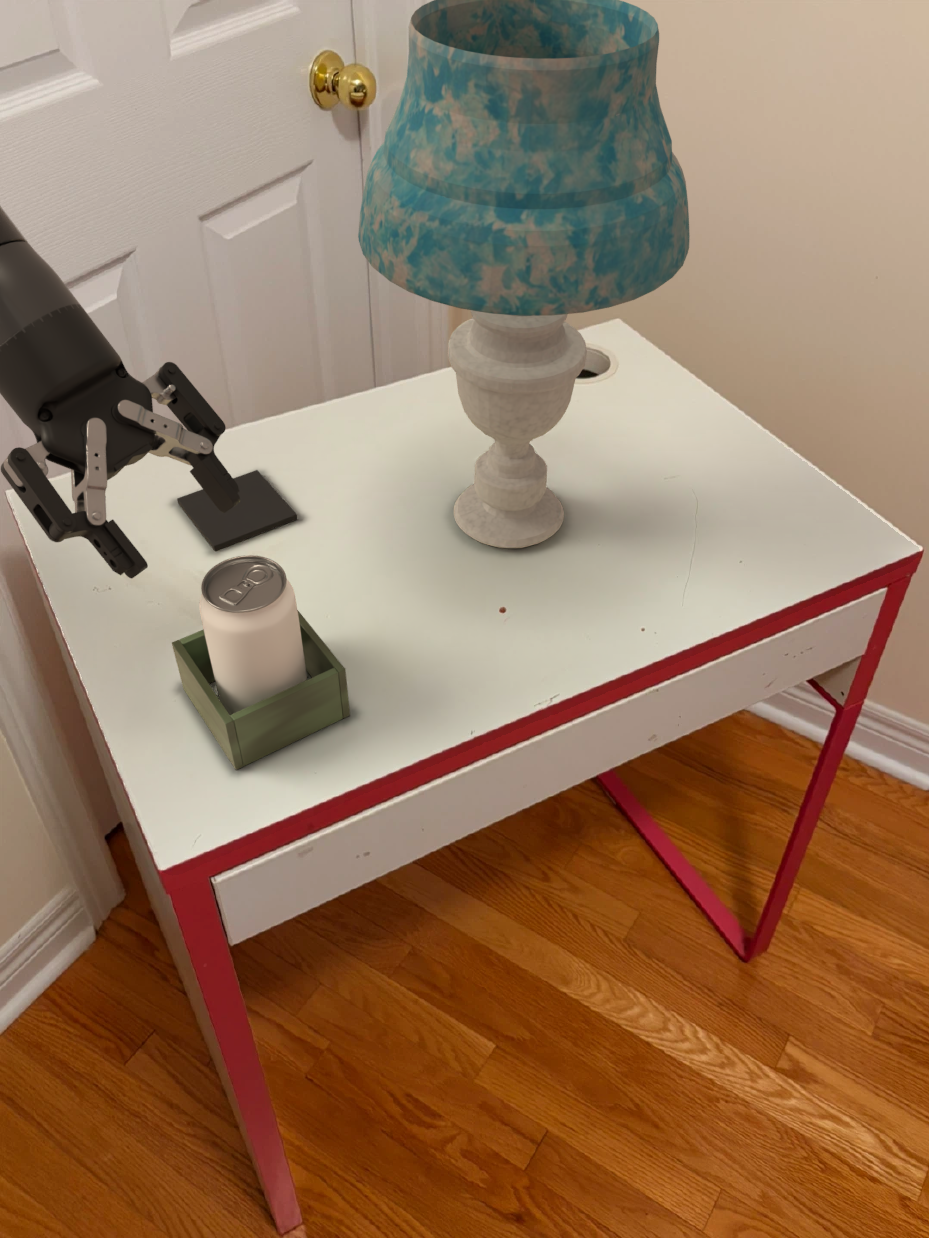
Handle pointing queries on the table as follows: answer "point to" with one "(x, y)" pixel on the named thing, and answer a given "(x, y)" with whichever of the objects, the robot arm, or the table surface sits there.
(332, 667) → the caddy
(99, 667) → the table surface
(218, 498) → the robot arm
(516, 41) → the table lamp
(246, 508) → the mat
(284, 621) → the can
